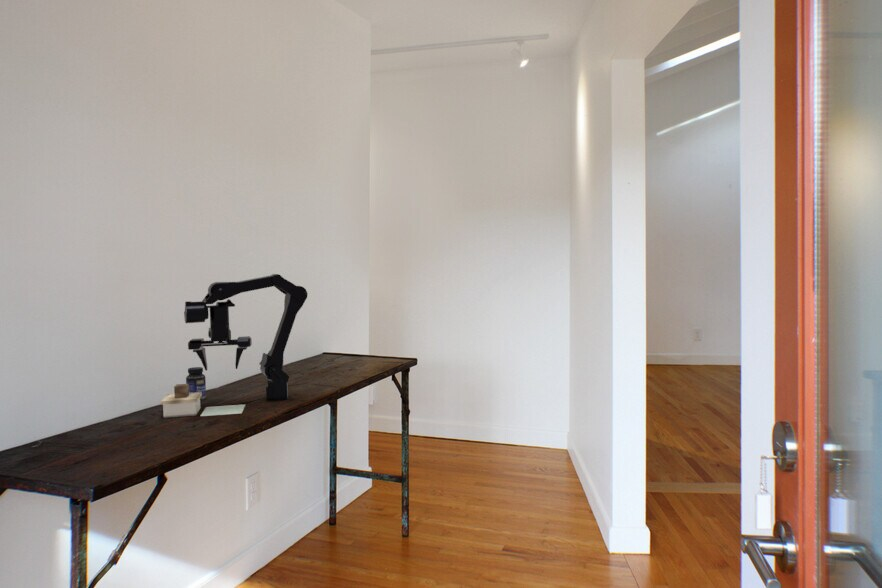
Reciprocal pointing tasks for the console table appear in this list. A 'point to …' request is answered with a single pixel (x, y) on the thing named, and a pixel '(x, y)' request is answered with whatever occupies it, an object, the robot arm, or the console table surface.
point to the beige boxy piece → (181, 409)
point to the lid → (181, 395)
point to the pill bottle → (196, 381)
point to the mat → (223, 410)
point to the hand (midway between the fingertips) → (221, 369)
